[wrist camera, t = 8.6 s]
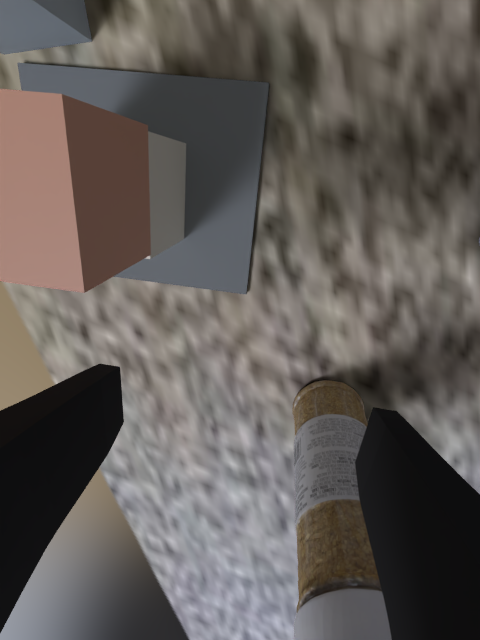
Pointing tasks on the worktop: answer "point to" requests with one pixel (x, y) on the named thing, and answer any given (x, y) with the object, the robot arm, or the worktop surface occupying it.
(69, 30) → the slate brick
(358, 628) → the sprinkles bottle
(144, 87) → the mat
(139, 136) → the terracotta brick
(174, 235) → the cream brick
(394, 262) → the worktop surface
